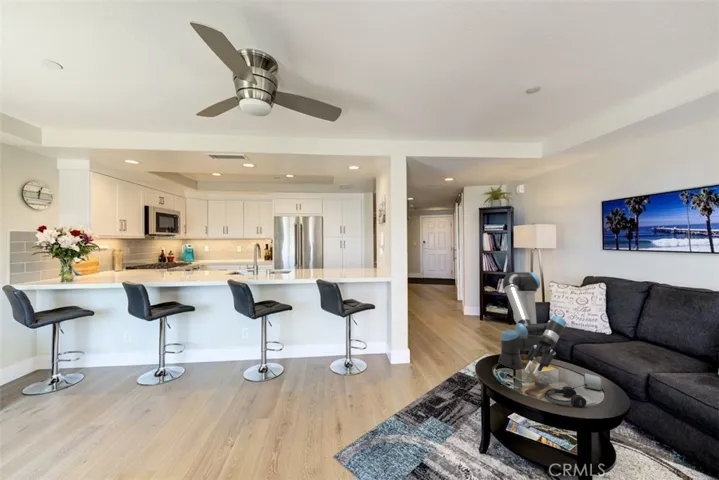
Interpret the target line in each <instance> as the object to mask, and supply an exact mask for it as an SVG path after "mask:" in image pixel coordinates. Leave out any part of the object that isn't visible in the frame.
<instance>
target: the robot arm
mask: <svg viewBox="0 0 719 480" xmlns="http://www.w3.org/2000/svg"><path fill="white" fill-rule="evenodd" d="M540 287H541V280H540V277H539V276H538V275H537V274H536V273H535V272H529V271H527V272H525V271H524V272H523V271H522V272H521V271H519V272H518V271H517V272H515V271H514V272H513V271H511V272H509V273H507V274H506V275H505V276H504V278H503V280H502V288H503V291H504V293H506V296H507V298H508V300H509V301H508V302H509V303H510V304H509V305H510V306H511V309H512V311H513V315H514V317H515V320H516V322H517V323H516V324H515V325H514V326H515V330H513V329H507V330H503V331H502V332H501V335H500V355H499V357H498V363H499V362H500V363H501V364H502V365H504V366H506V367H509V368H508V369H510V368H513V369H512V370H520V369H521V370H522V369H523V367H524V366H523V365H524V364H523V360H522V358H521V354H520V353H521V352H520V351H522V352H523V351H524V352H525V351H526V352H527V351H528V353H527V355H526V357H525V358H526V360H527V362H526V364H525V365H526V367H525V368H524V371H525V372H526V374H529V372H530V362H531V361H532V360H533V357H535V360H536V359H537V358H538V357H539V356H541V360H540V362H538V365H537V367H536V369H535V371H534V372H533V374H534V375H535V376H536V377H537V375H538V373H539V374H540V372H542V371H543V370H544V368H548V367H549V366H550V364H551V362H552V361H553V358H554V357H555V356H556V355H557V353H556V351H555V350H553V349H554V348H555V346H556V344H557V343H558V340H559V338H560V336H561V335H562V332H563V331H564V329H565V328H566V325H567V321H566V320H565V319H564V318H562V317H561V316H558V315H555V316H552V318H550V321H548V322H547V323H537V311H536V296H535V294H536V293H537V292H538V289H539V288H540ZM506 367H505V368H506Z"/></svg>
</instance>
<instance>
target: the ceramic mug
mask: <svg viewBox="0 0 719 480" xmlns="http://www.w3.org/2000/svg"><path fill="white" fill-rule="evenodd" d="M584 384H587V386H583V387H584V388H587V389H592V390H595V391H596V390H598V391H602V390H603V389H602V388H603V379H602V378H601V377H600V376H597V375H594V374H593V375H592V374H589V373H584V375H583V385H584Z"/></svg>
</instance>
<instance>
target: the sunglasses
mask: <svg viewBox="0 0 719 480" xmlns="http://www.w3.org/2000/svg"><path fill="white" fill-rule="evenodd" d="M506 377H508V378H511V379H515V380H518V381H520V383H524V384H525V381H523V380H521V379H520V378H518V377H516V376H513V375H511V374H508V373H507V372H505V371H498V372H497V377H496V380H497V379H498V381H499V382H500V383H501V384H503V385H505V386H507V387H512V388H515V389H517V390H520V389H521V388H522V387H518V386H515V385H512V384H511V383H508V382H506V381H504V379H506Z"/></svg>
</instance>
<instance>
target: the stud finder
mask: <svg viewBox="0 0 719 480" xmlns="http://www.w3.org/2000/svg"><path fill="white" fill-rule="evenodd" d="M534 382H535V381H534ZM535 386H538V387H540V388H543V389H545V388H546V387H548V386H550V382H549V381H547V380H544V379H541V378H540V381H539V382H535Z"/></svg>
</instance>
